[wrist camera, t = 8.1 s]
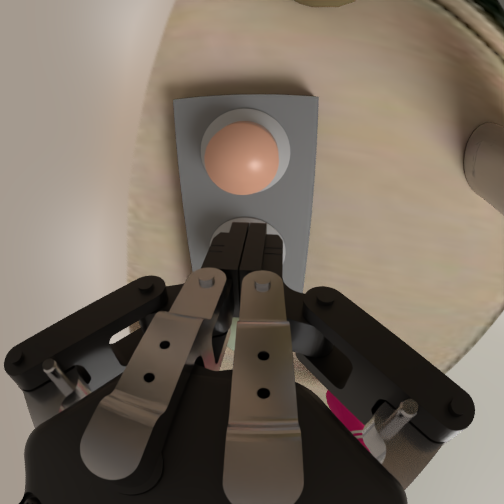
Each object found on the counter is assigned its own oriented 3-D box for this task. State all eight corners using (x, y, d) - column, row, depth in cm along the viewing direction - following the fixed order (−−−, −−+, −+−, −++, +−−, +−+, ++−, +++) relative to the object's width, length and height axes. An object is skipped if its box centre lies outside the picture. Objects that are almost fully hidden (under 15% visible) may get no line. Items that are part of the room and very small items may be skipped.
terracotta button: (279, 121, 20) (279, 124, 18) (277, 185, 24) (278, 195, 21) (209, 121, 21) (202, 125, 19) (212, 184, 24) (206, 194, 22)
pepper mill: (323, 385, 46) (329, 487, 29) (325, 364, 42) (333, 480, 25) (361, 380, 45) (375, 479, 28) (367, 358, 41) (387, 471, 24)
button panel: (314, 96, 22) (318, 96, 19) (294, 333, 38) (294, 348, 36) (182, 98, 22) (172, 99, 20) (209, 329, 39) (205, 343, 37)
